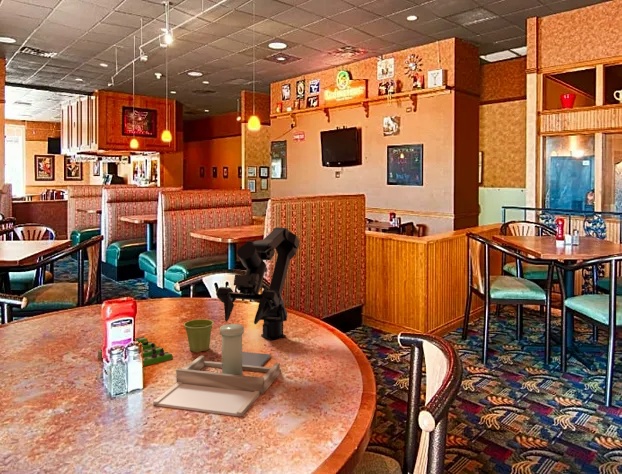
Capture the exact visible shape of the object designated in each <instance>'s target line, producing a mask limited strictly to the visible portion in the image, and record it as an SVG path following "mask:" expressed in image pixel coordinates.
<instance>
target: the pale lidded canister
mask: <svg viewBox="0 0 622 474" xmlns="http://www.w3.org/2000/svg"><path fill="white" fill-rule="evenodd" d="M244 328H245V327H244V325H242V324H238V323H230V324H229V323H228V324H223V325H220V327H219V335H221V363H222V367H221V371H222V372H221V373H225V374H234V375H243V370H242V352H243V335H244V333H245V329H244ZM243 376H244V375H243Z"/></svg>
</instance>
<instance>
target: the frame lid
mask: <svg viewBox="0 0 622 474" xmlns="http://www.w3.org/2000/svg"><path fill="white" fill-rule="evenodd" d="M259 396H260V394H259V391H254V392H249V391H240V390H231V389H223V388H214V387H206V386H197V385H189V384H182V382H177V381H176V383H174V384H173V385H172V386H171V387H169V388H168V389H167V390H166V391H164V392H163V393H162V394H160V395H159V396H158V397H156V399H154V400H153V402H152V404H153V406H156V407H157V406H158V407H166V408H172V409H180V410H189V411H195V412H203V413H210V414H212V413H213V414H219V415H227V416H234V417H240V418H241V417H243V415H244V414H245V413H246V412H247V411H248V410H249V408H250V407H251V406H252V404H253V403H254V402H255V401H256V400H257V399H258V397H259Z"/></svg>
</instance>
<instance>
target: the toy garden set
mask: <svg viewBox="0 0 622 474" xmlns="http://www.w3.org/2000/svg"><path fill="white" fill-rule="evenodd" d="M134 339H136V341H138V342H141V343H142V347H143V363H144V366H143V367H146V366H149V365H154V364H158V363H161V362H165V361H166V362H167V361H170V360H172V359H174V356H173V354H172V353H170V352H168V351H166V352H165V350H164V348H163V347H161V346H159V345H158V346H156V343H154V342H153V341H148V338H145V337H144V336H141V337H135V338H134ZM102 349H103V348H102ZM102 349H101V348H100V349H98V350H97V359H99V360H102V359H101V358H102Z"/></svg>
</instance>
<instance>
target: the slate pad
mask: <svg viewBox="0 0 622 474" xmlns="http://www.w3.org/2000/svg"><path fill="white" fill-rule="evenodd" d="M271 357H272V354H270V353H261V352H260V353H259V352H249V351H242V365H250V366H260V367H264V365H265V364H266V363H267V362H268V361H269V359H270V358H271Z"/></svg>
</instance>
